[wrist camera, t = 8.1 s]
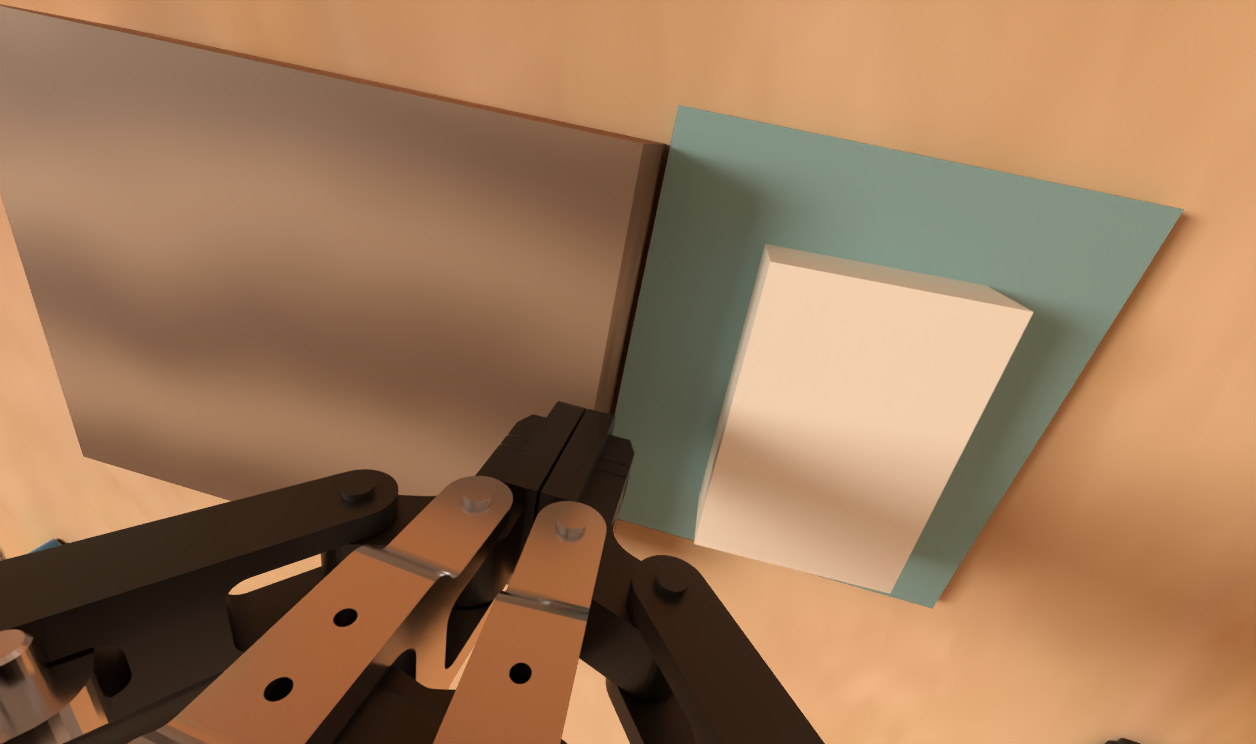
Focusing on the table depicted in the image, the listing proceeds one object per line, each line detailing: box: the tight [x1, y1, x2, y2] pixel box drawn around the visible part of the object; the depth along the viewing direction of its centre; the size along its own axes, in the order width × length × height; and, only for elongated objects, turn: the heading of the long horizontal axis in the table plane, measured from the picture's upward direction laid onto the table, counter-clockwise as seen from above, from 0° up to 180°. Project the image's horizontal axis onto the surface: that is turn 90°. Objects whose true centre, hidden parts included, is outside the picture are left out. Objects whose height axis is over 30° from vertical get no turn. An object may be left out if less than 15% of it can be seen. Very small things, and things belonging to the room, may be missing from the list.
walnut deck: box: [0, 4, 666, 585], centre depth 17 cm, size 14×18×4 cm
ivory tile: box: [694, 244, 1033, 594], centre depth 15 cm, size 9×6×2 cm, turn 170°
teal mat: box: [613, 105, 1184, 608], centre depth 16 cm, size 14×13×1 cm
